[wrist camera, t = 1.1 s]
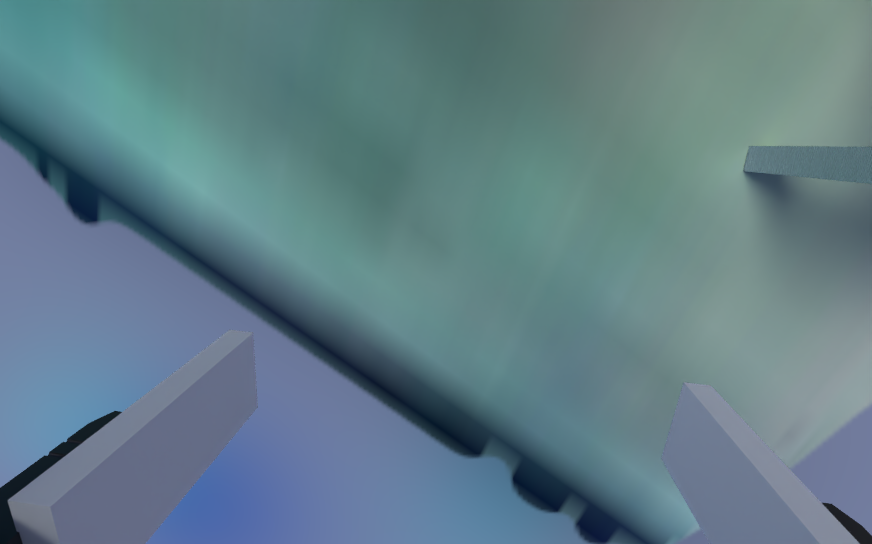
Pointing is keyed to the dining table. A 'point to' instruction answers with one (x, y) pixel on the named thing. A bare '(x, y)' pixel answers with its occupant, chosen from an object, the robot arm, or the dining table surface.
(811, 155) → the frame
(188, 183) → the dining table surface
